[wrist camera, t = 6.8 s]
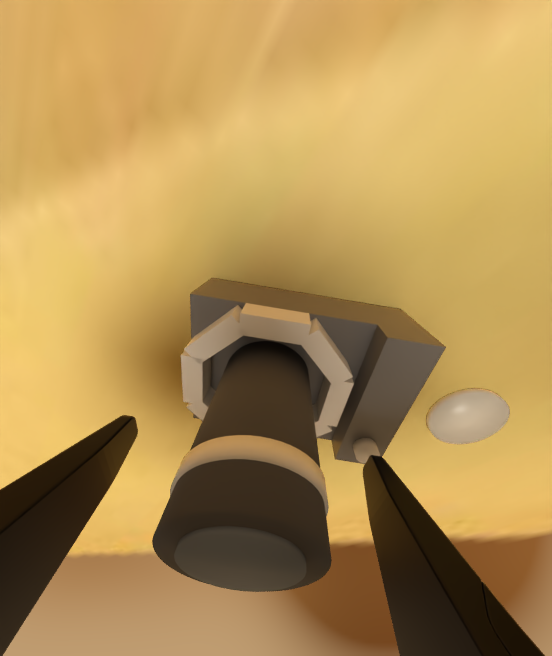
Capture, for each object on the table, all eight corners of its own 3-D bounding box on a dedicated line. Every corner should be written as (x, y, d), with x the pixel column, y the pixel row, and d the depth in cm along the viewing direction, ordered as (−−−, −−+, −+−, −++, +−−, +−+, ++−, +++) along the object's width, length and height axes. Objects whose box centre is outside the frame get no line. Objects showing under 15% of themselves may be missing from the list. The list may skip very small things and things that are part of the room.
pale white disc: (515, 392, 15) (526, 400, 14) (474, 439, 17) (482, 449, 17) (444, 379, 15) (452, 387, 14) (412, 428, 17) (417, 437, 17)
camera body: (400, 309, 13) (455, 355, 8) (357, 409, 16) (380, 476, 12) (211, 277, 13) (170, 308, 8) (209, 384, 16) (180, 444, 12)
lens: (319, 347, 11) (364, 536, 4) (301, 414, 13) (312, 609, 6) (225, 332, 11) (131, 503, 4) (222, 402, 13) (154, 587, 6)
